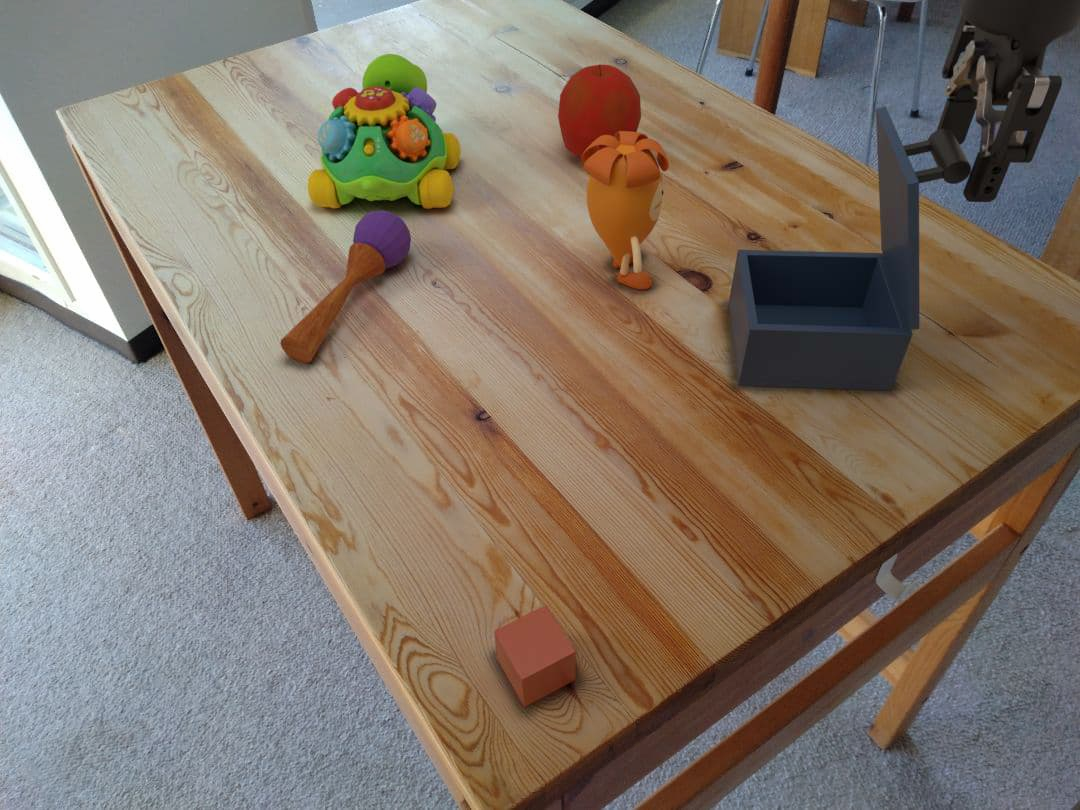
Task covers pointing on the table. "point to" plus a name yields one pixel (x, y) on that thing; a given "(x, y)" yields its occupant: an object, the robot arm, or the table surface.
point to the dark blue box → (816, 320)
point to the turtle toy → (385, 142)
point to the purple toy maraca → (351, 278)
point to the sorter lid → (909, 202)
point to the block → (535, 655)
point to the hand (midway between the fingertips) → (962, 170)
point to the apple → (597, 106)
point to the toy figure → (625, 197)
